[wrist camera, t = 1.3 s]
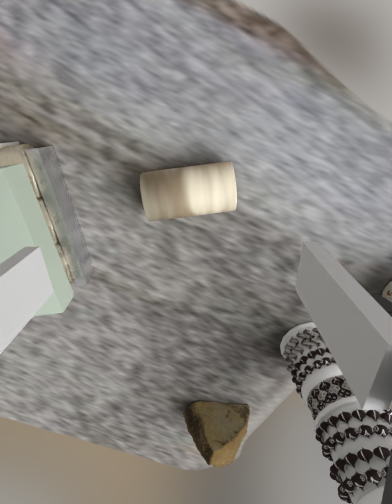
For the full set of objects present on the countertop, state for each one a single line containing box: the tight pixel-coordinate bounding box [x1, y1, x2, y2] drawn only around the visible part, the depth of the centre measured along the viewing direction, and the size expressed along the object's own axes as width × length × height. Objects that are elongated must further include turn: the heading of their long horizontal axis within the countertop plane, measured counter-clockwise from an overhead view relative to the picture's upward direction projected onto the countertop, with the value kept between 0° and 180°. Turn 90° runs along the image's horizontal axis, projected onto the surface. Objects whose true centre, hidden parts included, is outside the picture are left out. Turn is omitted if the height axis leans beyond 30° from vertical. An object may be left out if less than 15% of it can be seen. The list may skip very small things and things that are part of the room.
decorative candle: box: [280, 322, 392, 504], centre depth 30 cm, size 9×9×25 cm
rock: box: [183, 401, 250, 468], centre depth 44 cm, size 11×9×10 cm
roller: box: [140, 161, 237, 221], centre depth 28 cm, size 9×5×5 cm, turn 97°
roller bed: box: [0, 144, 95, 287], centre depth 28 cm, size 14×16×5 cm
